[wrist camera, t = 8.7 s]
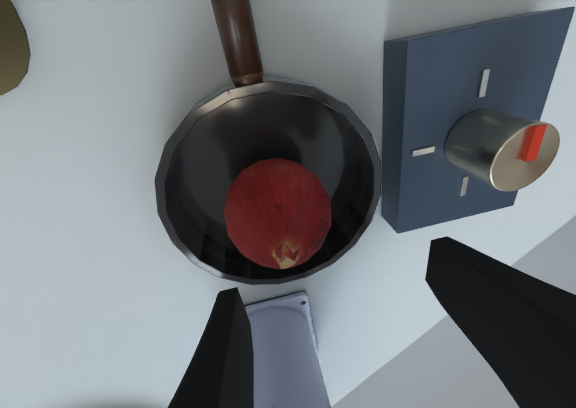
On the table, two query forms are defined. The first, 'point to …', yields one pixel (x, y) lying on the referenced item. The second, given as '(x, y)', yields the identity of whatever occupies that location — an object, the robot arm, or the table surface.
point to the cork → (12, 48)
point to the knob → (502, 148)
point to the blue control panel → (458, 108)
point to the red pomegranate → (277, 213)
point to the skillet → (255, 147)
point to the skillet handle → (239, 40)
